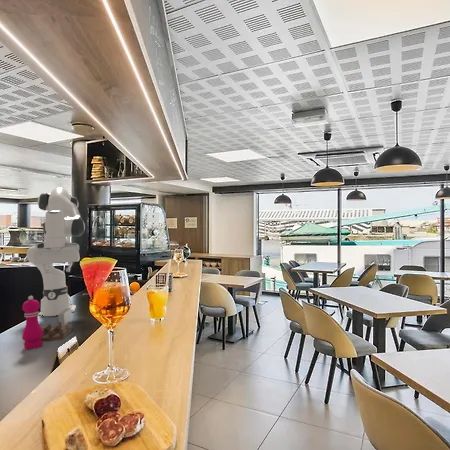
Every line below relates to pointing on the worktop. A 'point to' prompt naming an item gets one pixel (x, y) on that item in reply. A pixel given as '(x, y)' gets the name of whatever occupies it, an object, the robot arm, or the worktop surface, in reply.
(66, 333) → the walnut rack
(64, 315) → the clay strip
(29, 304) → the pepper mill
